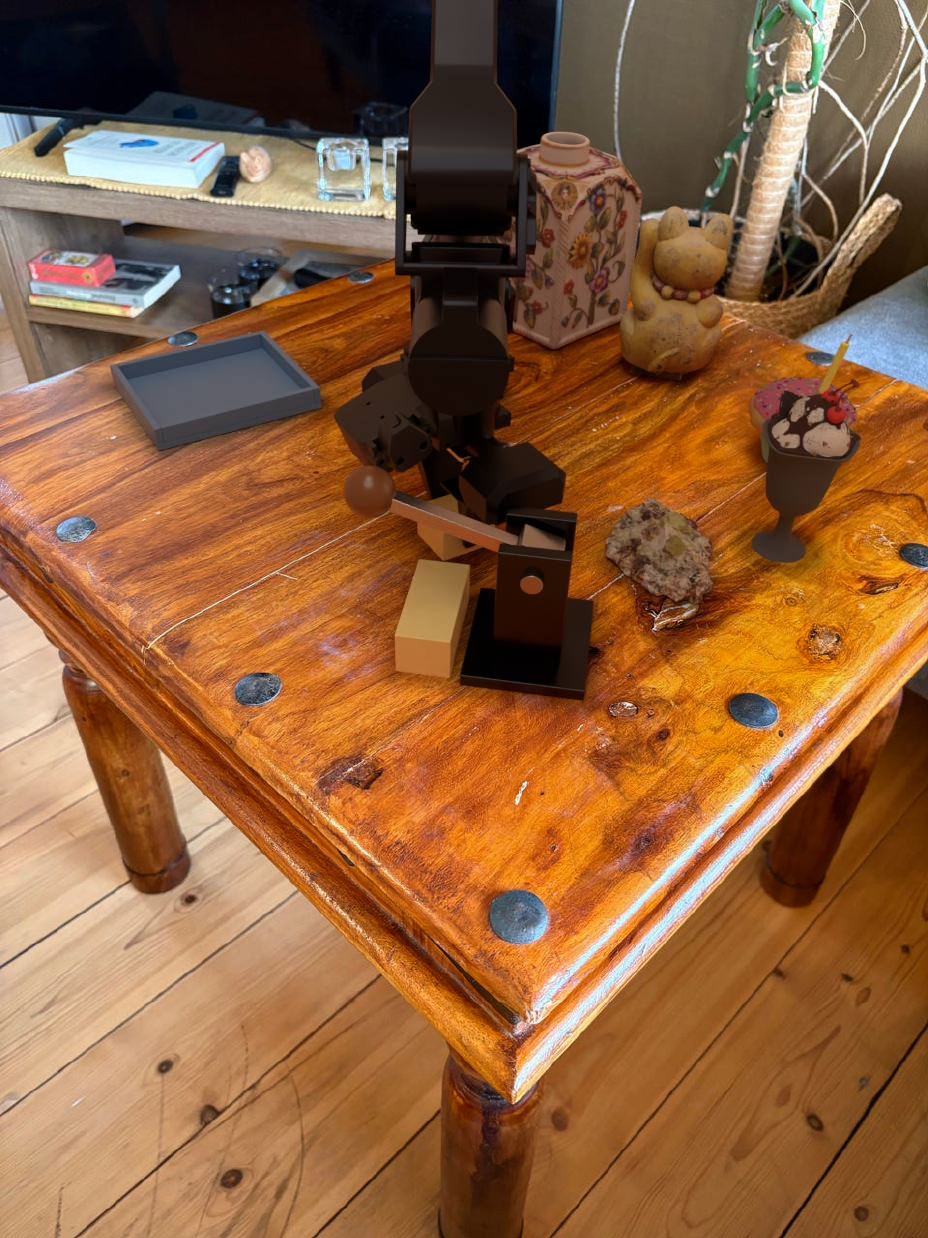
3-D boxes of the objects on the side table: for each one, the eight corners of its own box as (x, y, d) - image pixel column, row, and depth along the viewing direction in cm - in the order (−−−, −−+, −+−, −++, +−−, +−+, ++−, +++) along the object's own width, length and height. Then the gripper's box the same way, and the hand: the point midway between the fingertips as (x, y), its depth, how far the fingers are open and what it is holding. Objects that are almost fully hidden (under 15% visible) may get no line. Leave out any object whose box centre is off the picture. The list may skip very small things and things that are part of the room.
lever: (332, 516, 60) (345, 476, 58) (345, 487, 62) (358, 447, 60) (545, 597, 62) (565, 560, 59) (550, 565, 64) (569, 529, 62)
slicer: (459, 688, 64) (462, 569, 57) (479, 599, 71) (484, 484, 64) (583, 704, 63) (600, 585, 57) (592, 613, 70) (608, 497, 63)
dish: (266, 349, 99) (263, 329, 97) (321, 408, 90) (320, 387, 89) (114, 385, 93) (109, 364, 91) (158, 451, 84) (154, 429, 83)
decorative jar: (473, 314, 106) (478, 134, 94) (549, 286, 112) (562, 112, 100) (555, 354, 99) (571, 165, 87) (630, 321, 105) (655, 140, 94)
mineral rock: (583, 506, 75) (682, 470, 76) (591, 546, 79) (686, 512, 79) (635, 598, 68) (745, 558, 68) (642, 639, 71) (747, 601, 71)
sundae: (826, 582, 73) (888, 399, 63) (733, 569, 74) (779, 387, 64) (820, 530, 78) (877, 353, 68) (733, 519, 79) (776, 342, 69)
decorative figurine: (713, 355, 100) (744, 202, 90) (714, 395, 94) (748, 235, 84) (617, 346, 101) (637, 194, 91) (612, 385, 95) (633, 226, 85)
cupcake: (847, 448, 87) (888, 318, 79) (831, 497, 81) (874, 362, 73) (750, 425, 90) (780, 297, 82) (727, 471, 84) (758, 338, 76)
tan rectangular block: (419, 597, 71) (418, 558, 68) (469, 603, 70) (470, 564, 68) (395, 674, 65) (394, 635, 62) (450, 681, 64) (450, 642, 62)
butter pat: (467, 519, 78) (468, 487, 76) (494, 546, 75) (495, 514, 73) (417, 536, 76) (416, 504, 74) (443, 564, 74) (443, 532, 72)
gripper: (287, 308, 67) (306, 499, 78) (420, 434, 56) (422, 639, 66) (430, 277, 72) (430, 461, 82) (581, 387, 60) (559, 586, 70)
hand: (455, 530), depth 75 cm, fingers closed on butter pat, 4 cm apart
